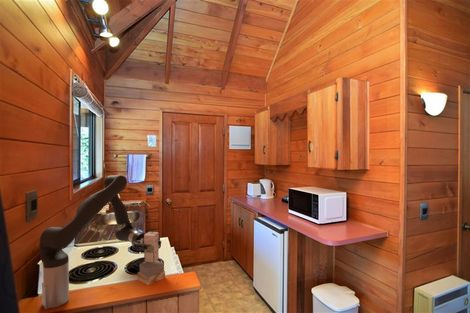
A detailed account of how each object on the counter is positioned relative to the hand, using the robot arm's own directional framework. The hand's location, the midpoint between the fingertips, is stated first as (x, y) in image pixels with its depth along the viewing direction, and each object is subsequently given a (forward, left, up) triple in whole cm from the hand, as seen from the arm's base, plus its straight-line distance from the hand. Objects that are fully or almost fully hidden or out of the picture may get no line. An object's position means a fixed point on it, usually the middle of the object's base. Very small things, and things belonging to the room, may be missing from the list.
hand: (153, 245), depth 129 cm
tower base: (0, +2, -18) cm, 19 cm away
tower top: (0, +2, -14) cm, 15 cm away
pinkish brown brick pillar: (0, +2, -9) cm, 9 cm away
